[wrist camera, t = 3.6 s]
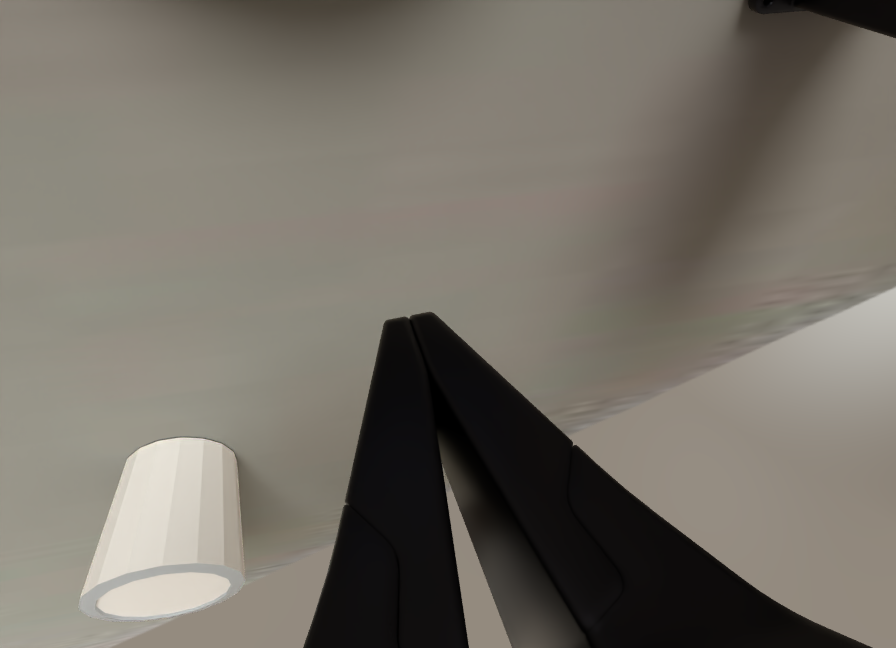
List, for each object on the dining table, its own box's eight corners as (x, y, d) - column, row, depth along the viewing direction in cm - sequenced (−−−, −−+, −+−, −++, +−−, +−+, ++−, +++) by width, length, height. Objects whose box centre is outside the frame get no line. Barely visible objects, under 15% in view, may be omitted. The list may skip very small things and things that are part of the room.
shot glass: (79, 472, 25) (36, 619, 20) (179, 414, 24) (159, 555, 19) (186, 505, 30) (172, 629, 25) (273, 458, 29) (275, 578, 24)
